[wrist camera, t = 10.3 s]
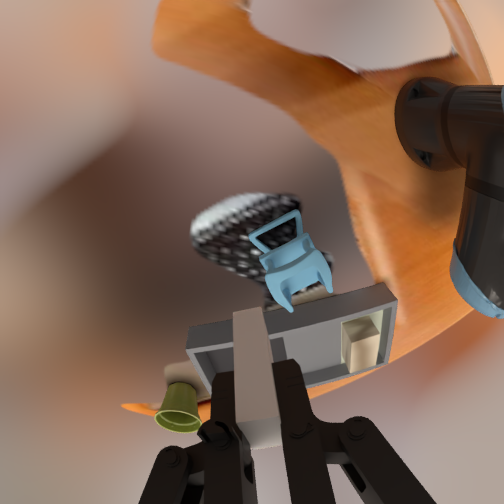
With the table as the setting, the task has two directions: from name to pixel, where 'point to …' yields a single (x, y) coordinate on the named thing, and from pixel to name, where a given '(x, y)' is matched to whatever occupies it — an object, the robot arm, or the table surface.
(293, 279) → the chair
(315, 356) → the tray
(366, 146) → the table surface
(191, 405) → the plant pot
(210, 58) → the table surface
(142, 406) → the table surface
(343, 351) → the birch block
